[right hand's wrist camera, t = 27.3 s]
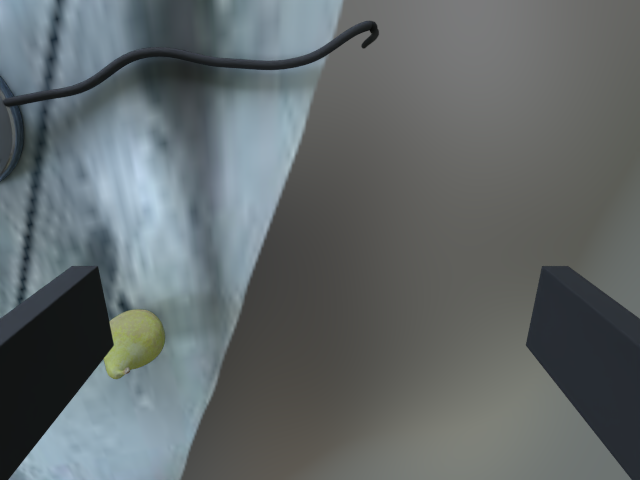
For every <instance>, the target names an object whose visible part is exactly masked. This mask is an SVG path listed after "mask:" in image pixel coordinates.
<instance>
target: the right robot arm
mask: <svg viewBox="0 0 640 480" xmlns="http://www.w3.org/2000/svg"><path fill="white" fill-rule="evenodd" d="M369 30H370V32H371V35H370V36H369V37H368V38H367V39H366V40H365V41H364V42H363V43H362V45H361V47H362V48H363V49H364V48H366V47H367V46H368V45H370V44H371V43H372V42H374V41H375V40H376V39H377V37H378V36H379V30H378V27H377V24H376V23H375V22H374V21H365V22H362V23H359V24H357V25H355V26H353V27H351V28H350V29H348V30H346V31H345V32H343V33H342V34H340V35H339V36H338V37H336V38H335V39H333V40H332V41H331V42H329V43H328V44H326V45H325V46H323V47H322V48H320V49H318V50H316V51H314V52H312V53H310V54H308V55H305V56H301V57H297V58H293V59H287V60H278V61H257V60H243V59H228V58H216V57H210V56H205V55H200V54H196V53H192V52H188V51H183V50H179V49H173V48H164V47H153V48H144V49H139V50H135V51H132V52H129V53H127V54H125V55H123V56H121V57H119V58H117V59H116V60H114V61H113V62H112V63H110V64H109V65H108V66H106V67H105V68H104V69H102V70H101V71H100V72H98V73H97V74H95V75H94V76H93V77H91V78H89V79H87V80H86V81H84V82H81V83H79V84H76V85H73V86H70V87H66V88H61V89H54V90H47V91H41V92H36V93H31V94H26V95H21V96H16V97H14V96H13V94H12V92H11V91H10V89H9V87H8V86H7V84H6V83H5V81H4V80H3V79H2V77H1V76H0V181H2V180H3V179H4V178H6V177H7V176H8V175H9V174H10V173H11V172H12V170H13V169H14V168H15V166H16V164H17V163H18V161H19V158H20V156H21V153H22V148H23V141H24V130H23V122H22V117H21V114H20V110H19V108H18V105H22V104H27V103H32V102H37V101H42V100H48V99H54V98H61V97H67V96H72V95H76V94H79V93H82V92H84V91H87V90H89V89H91V88H93V87H95V86H97V85H98V84H100V83H101V82H103V81H104V80H106V79H107V78H108V77H110V76H111V75H112V74H114V73H115V72H116V71H118V70H119V69H121V68H122V67H124V66H125V65H127V64H129V63H131V62H133V61H136V60H139V59H143V58H147V57H158V56H160V57H172V58H178V59H182V60H187V61H191V62H195V63H199V64H203V65H209V66H215V67H226V68H242V69H256V70H280V69H288V68H294V67H299V66H303V65H306V64H309V63H312V62H314V61H317V60H319V59H321V58H322V57H324V56H326V55H327V54H329V53H331V52H332V51H333V50H335V49H336V48H338V47H339V46H341V45H342V44H344V43H345V42H346V41H348V40H349V39H351V38H353V37H354V36H356V35H358V34H360V33H362V32H365V31H369ZM113 346H114V342H113V337H112V332H111V328H110V323H109V318H108V313H107V308H106V303H105V298H104V294H103V289H102V284H101V279H100V274H99V269H98V266H72V267H70V268H69V269H67V270H66V271H65V272H63V273H62V274H61V275H59V276H58V277H57V278H55V279H54V280H52V281H51V282H50V283H48V284H47V285H46V286H44V287H43V288H42V289H40V290H39V291H37V292H36V293H35V294H33V295H32V296H31V297H29V298H28V299H27V300H25V301H24V302H22V303H21V304H20V305H18V306H17V307H16V308H14V309H13V310H12V311H10V312H9V313H7V314H6V315H5V316H3V317H2V318H1V319H0V480H8V479H9V478H10V477H11V475H12V474H13V473H14V472H15V470H16V469H17V468H18V467H19V465H20V464H21V463H22V461H23V460H24V459H25V458H26V456H27V455H28V454H29V453H30V451H31V450H32V449H33V448H34V446H35V445H36V444H37V442H38V441H39V440H40V439H41V437H42V436H43V435H44V434H45V432H46V431H47V430H48V428H49V427H50V426H51V425H52V423H53V422H54V421H55V420H56V418H57V417H58V416H59V415H60V413H61V412H62V411H63V409H64V408H65V407H66V406H67V404H68V403H69V402H70V401H71V399H72V398H73V397H74V396H75V394H76V393H77V392H78V390H79V389H80V388H81V387H82V385H83V384H84V383H85V382H86V380H87V379H88V378H89V376H90V375H91V374H92V373H93V371H94V370H95V369H96V368H97V366H98V365H99V364H100V363H101V361H102V360H103V359H104V357H105V356H106V355H107V354H108V352H109V351H110V350H111V349H112V347H113ZM526 346H527V347H528V348H529V350H530V351H531V352H532V354H533V355H534V356H535V357H536V359H537V360H538V361H539V363H540V364H541V365H542V366H543V368H544V369H545V370H546V371H547V373H548V374H549V375H550V376H551V378H552V379H553V380H554V382H555V383H556V384H557V385H558V386H559V388H560V389H561V390H562V392H563V393H564V394H565V396H566V397H567V398H568V399H569V401H570V402H571V403H572V404H573V406H574V407H575V408H576V409H577V411H578V412H579V413H580V415H581V416H582V417H583V418H584V420H585V421H586V422H587V423H588V425H589V426H590V427H591V428H592V430H593V431H594V432H595V434H596V435H597V436H598V437H599V439H600V440H601V441H602V442H603V444H604V445H605V446H606V448H607V449H608V450H609V451H610V453H611V454H612V455H613V456H614V458H615V459H616V460H617V461H618V463H619V464H620V465H621V467H622V468H623V469H624V470H625V472H626V473H627V474H628V475H629V477H630V478H631V479H632V480H640V319H639V318H638V317H637V316H635V315H634V314H633V313H631V312H630V311H628V310H627V309H626V308H624V307H623V306H622V305H620V304H619V303H618V302H616V301H615V300H613V299H612V298H611V297H609V296H608V295H607V294H605V293H604V292H602V291H601V290H600V289H598V288H597V287H596V286H594V285H593V284H592V283H590V282H589V281H588V280H586V279H585V278H583V277H582V276H581V275H579V274H578V273H577V272H575V271H574V270H572V269H571V268H570V267H568V266H542V269H541V274H540V279H539V284H538V289H537V294H536V298H535V303H534V308H533V313H532V318H531V323H530V328H529V332H528V337H527V342H526Z"/></svg>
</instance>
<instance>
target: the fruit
mask: <svg viewBox="0 0 640 480" xmlns="http://www.w3.org/2000/svg"><path fill="white" fill-rule="evenodd" d="M109 323H110V328H111V332H112V337H113V342H114V346H113V347H112V349H111V350H110V351H109V352H108V354H107V355H106V356H105V357H104V362H105V366H106V371H107V373H108V375H109V376H110V377H111V378H113V379H119V378H121V377H122V376H123V375H125V374H127V373H129V372H130V370H131V369H136V368H139V367H142V366H144V365H146V364H148V363H150V362H151V361H152V360H154V359H155V358H156V357H157V356H158V355H159V354H160V352H161V351H162V349H163V346H164V343H165V333H164V329H163V326H162V323H161V321H160V320H159V319H158V317H157V316H155V315H154V314H153V313H152V312H150V311H147V310H142V309H136V310H129V311H126V312H124V313H121V314H120V315H118V316H116V317H115V318H113V319H112V320H111V321H110V322H109Z"/></svg>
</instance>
